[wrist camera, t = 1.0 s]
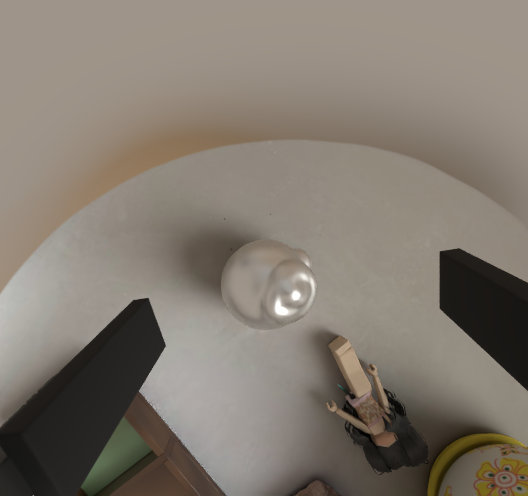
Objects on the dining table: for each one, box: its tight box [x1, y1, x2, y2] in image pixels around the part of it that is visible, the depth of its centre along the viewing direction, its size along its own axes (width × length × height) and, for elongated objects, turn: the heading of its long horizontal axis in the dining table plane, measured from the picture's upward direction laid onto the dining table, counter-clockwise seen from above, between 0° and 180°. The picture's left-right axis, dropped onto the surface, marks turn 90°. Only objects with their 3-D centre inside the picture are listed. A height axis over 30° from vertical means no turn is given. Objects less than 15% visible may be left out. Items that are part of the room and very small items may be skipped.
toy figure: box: [326, 336, 429, 475], centre depth 29 cm, size 7×6×15 cm
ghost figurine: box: [221, 240, 317, 330], centre depth 26 cm, size 9×10×10 cm
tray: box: [76, 391, 226, 496], centre depth 30 cm, size 24×12×3 cm, turn 38°
